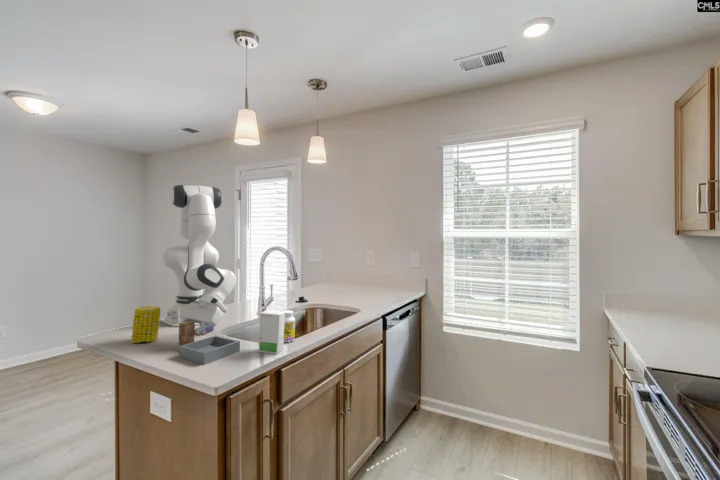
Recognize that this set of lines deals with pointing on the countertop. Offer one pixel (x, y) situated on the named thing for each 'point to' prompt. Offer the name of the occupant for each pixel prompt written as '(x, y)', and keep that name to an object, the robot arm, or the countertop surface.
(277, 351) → the skincare box
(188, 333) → the block
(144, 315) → the food
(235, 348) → the bin
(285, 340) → the supplement bottle
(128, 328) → the countertop surface
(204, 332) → the flask
